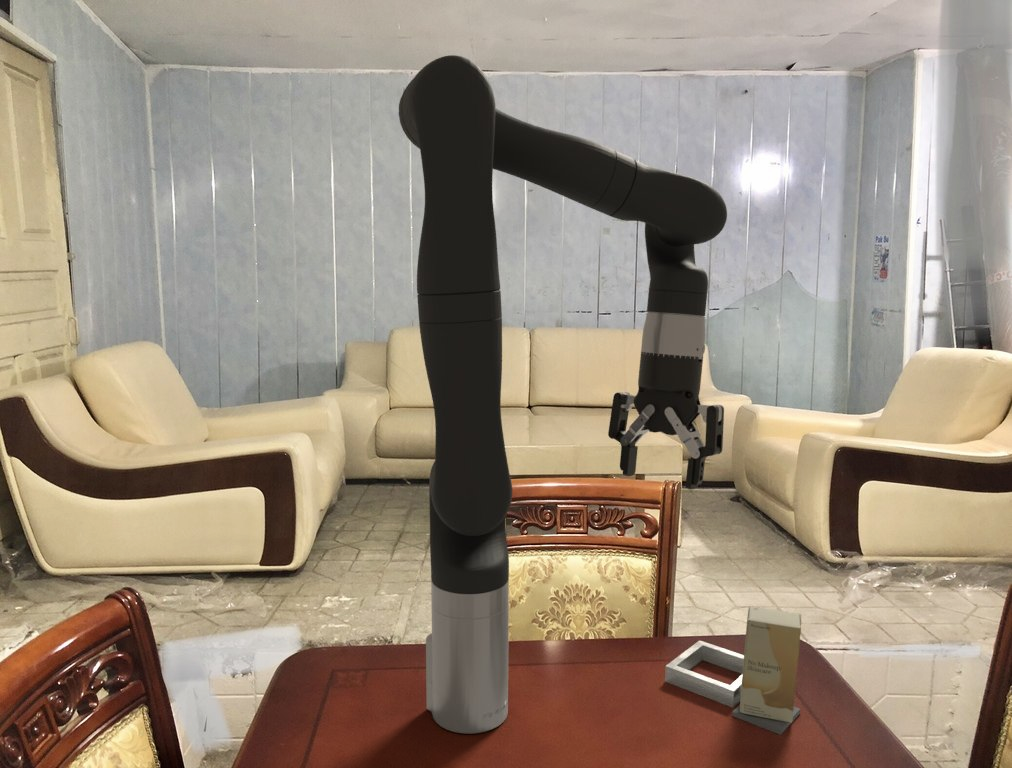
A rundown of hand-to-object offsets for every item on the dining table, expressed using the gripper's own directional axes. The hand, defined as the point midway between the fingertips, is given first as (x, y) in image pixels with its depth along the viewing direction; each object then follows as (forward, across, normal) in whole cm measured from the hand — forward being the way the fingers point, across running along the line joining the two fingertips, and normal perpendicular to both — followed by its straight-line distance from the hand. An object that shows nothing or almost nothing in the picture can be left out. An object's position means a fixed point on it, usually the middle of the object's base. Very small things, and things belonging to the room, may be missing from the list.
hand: (659, 481), depth 100 cm
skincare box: (+26, +14, +6) cm, 31 cm away
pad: (+27, +14, +6) cm, 31 cm away
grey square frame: (+27, +6, +10) cm, 29 cm away
